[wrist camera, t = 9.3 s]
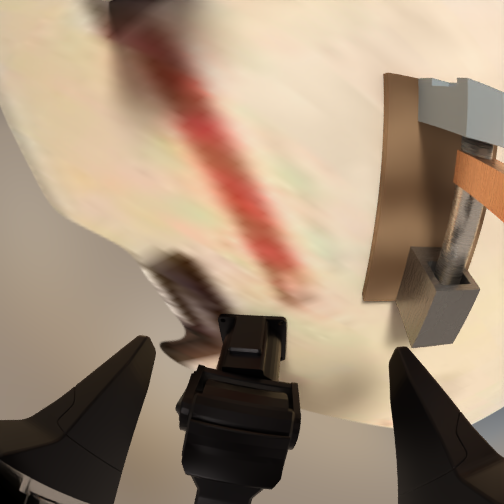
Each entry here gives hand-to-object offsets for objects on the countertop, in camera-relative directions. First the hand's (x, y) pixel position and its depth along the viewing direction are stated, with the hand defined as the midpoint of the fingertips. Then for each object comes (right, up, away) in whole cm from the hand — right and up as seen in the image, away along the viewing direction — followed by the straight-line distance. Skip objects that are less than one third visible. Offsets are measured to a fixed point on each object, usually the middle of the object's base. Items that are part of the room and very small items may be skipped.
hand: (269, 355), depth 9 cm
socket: (+13, +13, +4) cm, 19 cm away
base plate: (+14, +7, +9) cm, 18 cm away
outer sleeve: (+14, +2, +11) cm, 18 cm away
